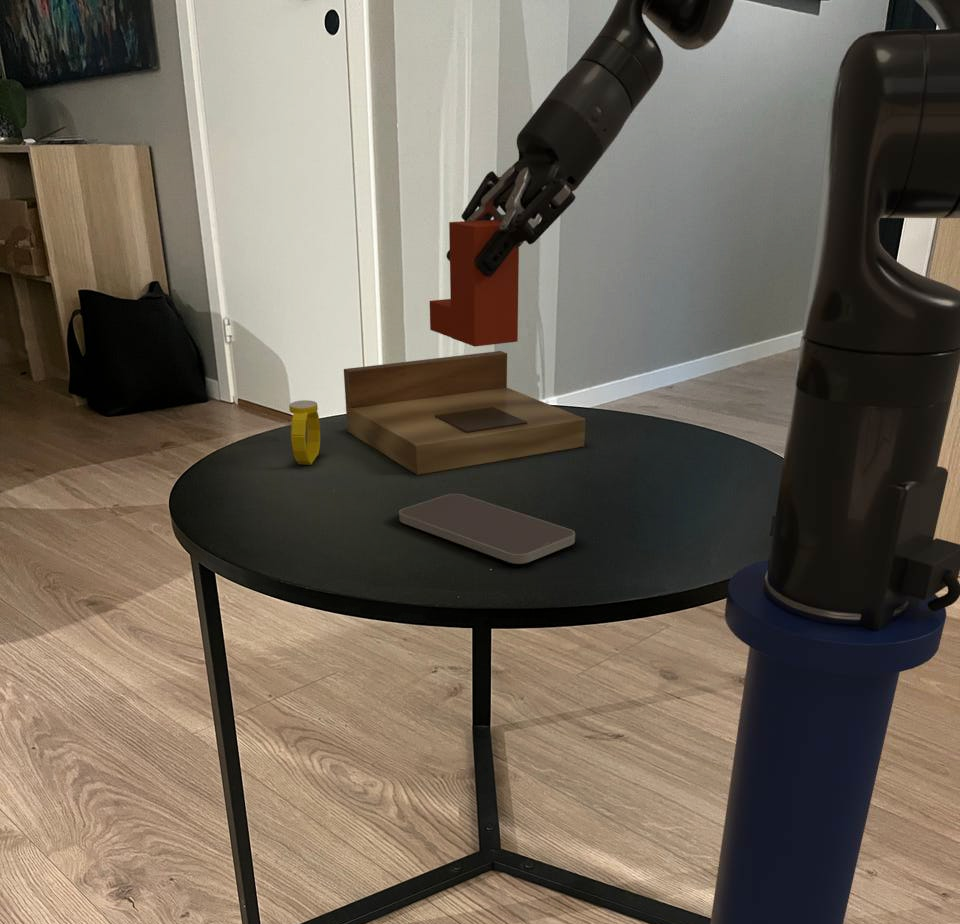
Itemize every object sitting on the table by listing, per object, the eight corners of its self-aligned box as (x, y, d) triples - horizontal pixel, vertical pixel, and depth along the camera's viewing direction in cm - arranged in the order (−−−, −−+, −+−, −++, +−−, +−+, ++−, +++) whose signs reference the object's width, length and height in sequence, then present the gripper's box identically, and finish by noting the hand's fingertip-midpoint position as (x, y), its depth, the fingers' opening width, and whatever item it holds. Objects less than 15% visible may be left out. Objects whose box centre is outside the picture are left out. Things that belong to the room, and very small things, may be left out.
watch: (303, 452, 104) (298, 395, 102) (328, 452, 104) (324, 396, 101) (287, 469, 99) (281, 410, 96) (313, 470, 99) (309, 411, 96)
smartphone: (455, 491, 90) (581, 532, 80) (455, 501, 90) (580, 543, 81) (393, 511, 85) (518, 557, 76) (393, 521, 86) (518, 568, 76)
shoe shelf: (584, 446, 106) (587, 380, 103) (417, 475, 97) (414, 404, 94) (500, 409, 120) (500, 350, 117) (347, 431, 111) (343, 368, 108)
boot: (517, 341, 99) (519, 223, 94) (474, 346, 97) (473, 226, 92) (470, 325, 107) (469, 215, 102) (429, 330, 105) (426, 218, 100)
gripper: (639, 159, 92) (527, 303, 93) (556, 155, 103) (456, 284, 104) (595, 94, 88) (478, 246, 88) (513, 97, 99) (409, 233, 99)
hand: (467, 266), depth 96 cm, fingers closed on boot, 5 cm apart
